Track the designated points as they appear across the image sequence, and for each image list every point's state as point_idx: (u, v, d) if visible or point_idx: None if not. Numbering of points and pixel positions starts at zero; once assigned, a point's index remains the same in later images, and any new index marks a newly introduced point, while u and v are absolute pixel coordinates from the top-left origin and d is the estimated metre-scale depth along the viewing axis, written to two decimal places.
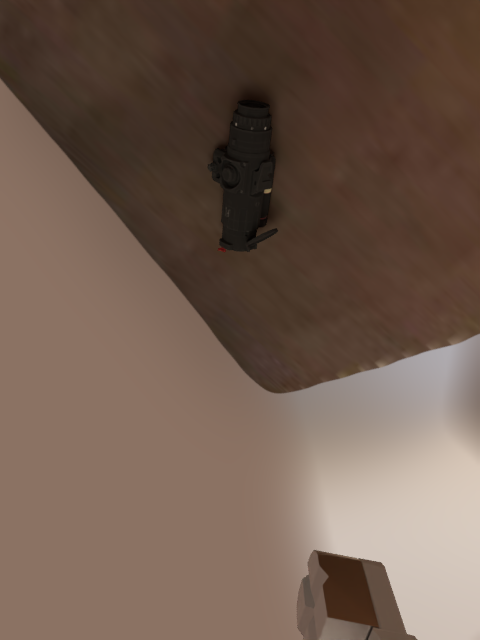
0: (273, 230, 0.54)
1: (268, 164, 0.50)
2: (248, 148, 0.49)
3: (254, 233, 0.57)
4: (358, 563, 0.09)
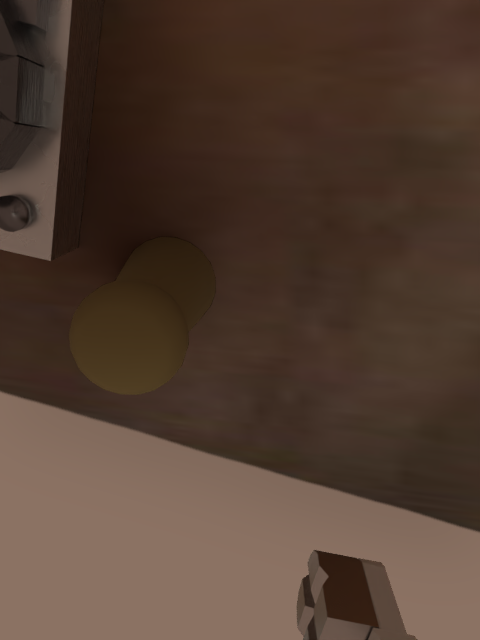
0: None
1: None
2: None
3: None
4: (358, 563, 0.09)
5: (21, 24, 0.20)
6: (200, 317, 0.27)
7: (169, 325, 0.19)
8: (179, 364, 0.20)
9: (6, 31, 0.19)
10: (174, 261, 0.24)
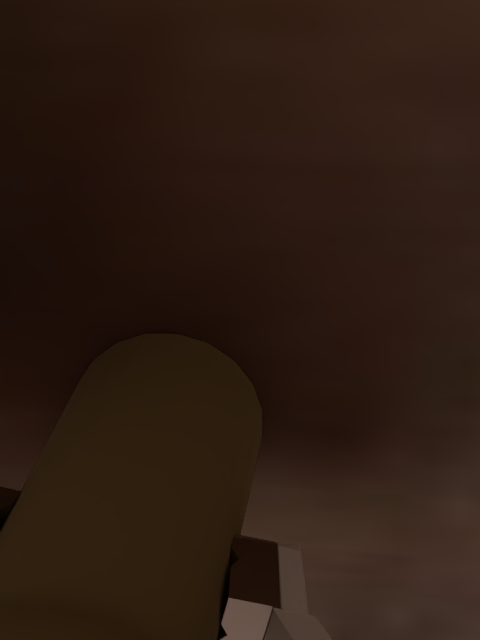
0: None
1: None
2: None
3: None
4: (274, 545, 0.09)
5: None
6: None
7: None
8: None
9: None
10: (177, 420, 0.10)
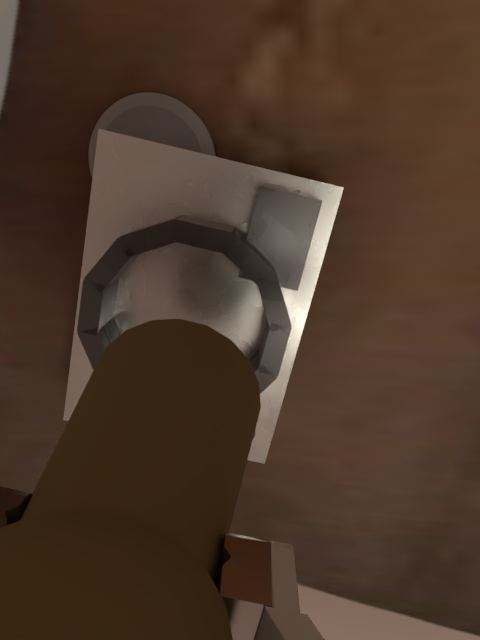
0: None
1: None
2: None
3: None
4: (267, 543, 0.09)
5: None
6: None
7: None
8: None
9: (284, 308, 0.21)
10: (181, 387, 0.12)
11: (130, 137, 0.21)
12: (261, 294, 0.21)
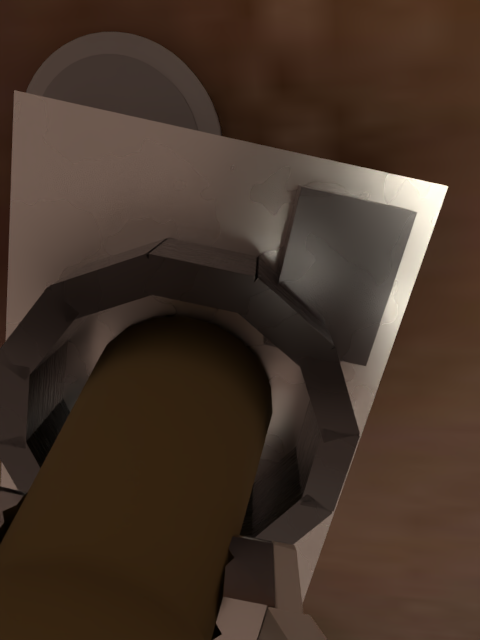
0: None
1: None
2: None
3: None
4: (270, 544, 0.09)
5: None
6: None
7: None
8: None
9: (348, 405, 0.12)
10: (181, 398, 0.10)
11: (71, 105, 0.12)
12: (307, 382, 0.12)
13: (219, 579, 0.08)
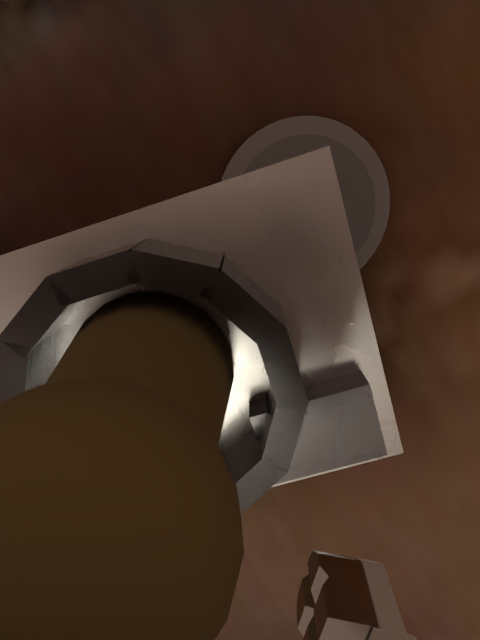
0: None
1: None
2: None
3: None
4: (359, 562, 0.09)
5: None
6: None
7: (214, 635, 0.06)
8: None
9: (252, 500, 0.16)
10: (221, 386, 0.13)
11: (339, 193, 0.15)
12: (253, 469, 0.15)
13: None
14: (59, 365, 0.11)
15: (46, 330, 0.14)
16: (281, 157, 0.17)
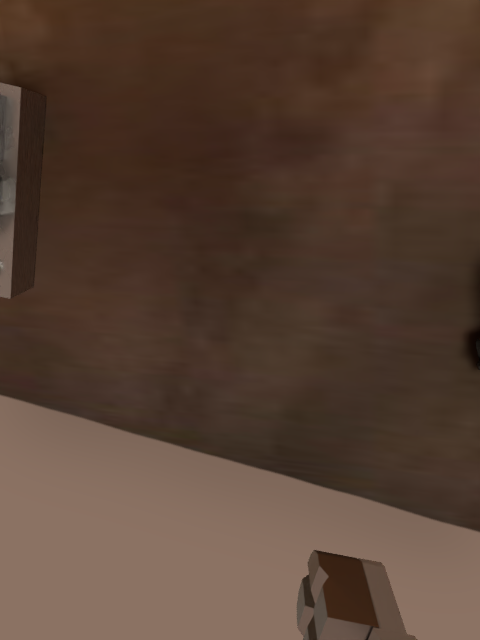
0: None
1: None
2: None
3: None
4: (359, 562, 0.09)
5: None
6: None
7: None
8: None
9: None
10: None
11: None
12: None
13: None
14: None
15: None
16: None
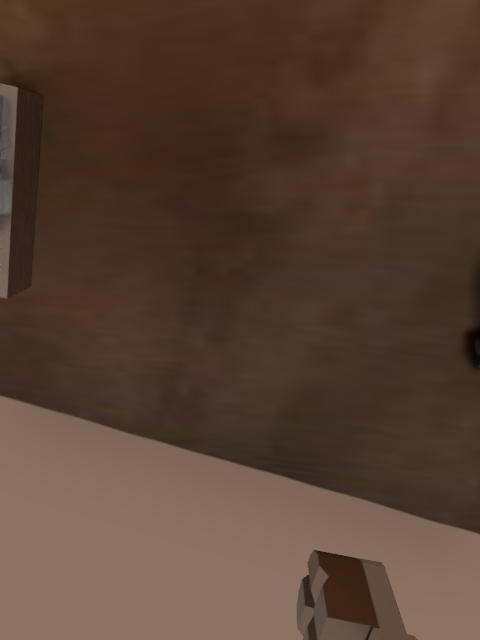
0: None
1: None
2: None
3: None
4: (359, 562, 0.09)
5: None
6: None
7: None
8: None
9: None
10: None
11: None
12: None
13: None
14: None
15: None
16: None
